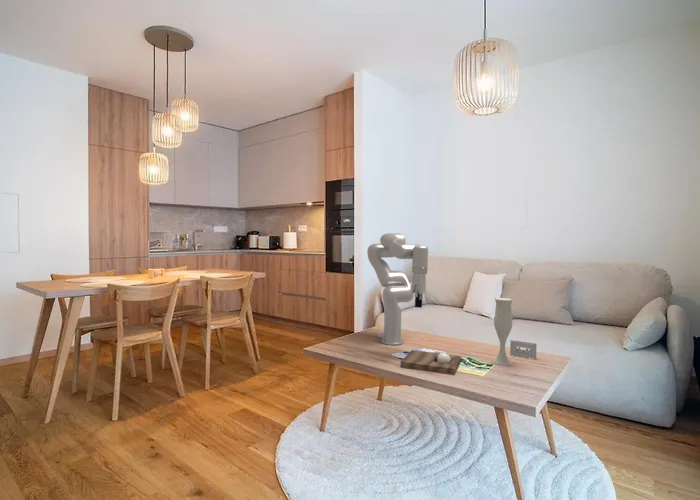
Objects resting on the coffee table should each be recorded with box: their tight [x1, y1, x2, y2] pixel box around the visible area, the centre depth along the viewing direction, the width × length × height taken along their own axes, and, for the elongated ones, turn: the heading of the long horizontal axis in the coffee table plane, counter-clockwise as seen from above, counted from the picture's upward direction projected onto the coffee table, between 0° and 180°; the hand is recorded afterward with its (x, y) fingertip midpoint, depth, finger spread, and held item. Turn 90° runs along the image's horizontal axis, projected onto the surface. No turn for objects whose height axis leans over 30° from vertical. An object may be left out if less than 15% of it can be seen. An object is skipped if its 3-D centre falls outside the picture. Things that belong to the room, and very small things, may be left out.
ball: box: [437, 352, 451, 363], centre depth 180 cm, size 6×6×6 cm
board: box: [400, 349, 462, 376], centre depth 183 cm, size 24×20×2 cm
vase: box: [492, 297, 513, 366], centre depth 186 cm, size 9×8×30 cm
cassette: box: [509, 339, 538, 360], centre depth 195 cm, size 12×2×8 cm, turn 56°
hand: (418, 307), depth 197 cm, fingers closed
